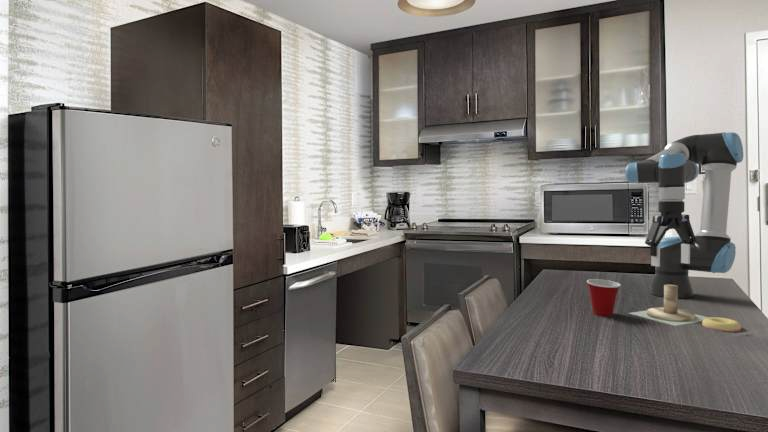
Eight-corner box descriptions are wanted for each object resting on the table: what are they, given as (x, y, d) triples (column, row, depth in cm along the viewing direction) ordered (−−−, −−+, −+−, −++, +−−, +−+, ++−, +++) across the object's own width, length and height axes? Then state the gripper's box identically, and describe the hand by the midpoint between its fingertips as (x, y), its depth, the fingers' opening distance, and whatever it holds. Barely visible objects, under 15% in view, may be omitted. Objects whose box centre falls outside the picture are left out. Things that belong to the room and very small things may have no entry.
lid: (667, 309, 183) (667, 280, 182) (704, 318, 170) (705, 287, 169) (637, 313, 177) (637, 284, 177) (673, 323, 164) (674, 291, 164)
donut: (730, 343, 153) (745, 333, 158) (732, 329, 152) (747, 319, 157) (695, 330, 162) (710, 321, 166) (697, 317, 160) (712, 308, 165)
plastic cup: (616, 321, 171) (616, 285, 170) (582, 317, 177) (582, 282, 177) (624, 314, 179) (624, 280, 179) (592, 310, 186) (592, 277, 185)
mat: (666, 309, 185) (666, 307, 185) (715, 321, 168) (715, 319, 168) (628, 315, 179) (628, 313, 178) (674, 328, 162) (674, 325, 162)
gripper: (688, 199, 179) (687, 260, 180) (633, 201, 170) (633, 265, 171) (708, 199, 172) (707, 263, 173) (653, 201, 163) (652, 268, 164)
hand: (670, 264), depth 172 cm, fingers open, 13 cm apart
